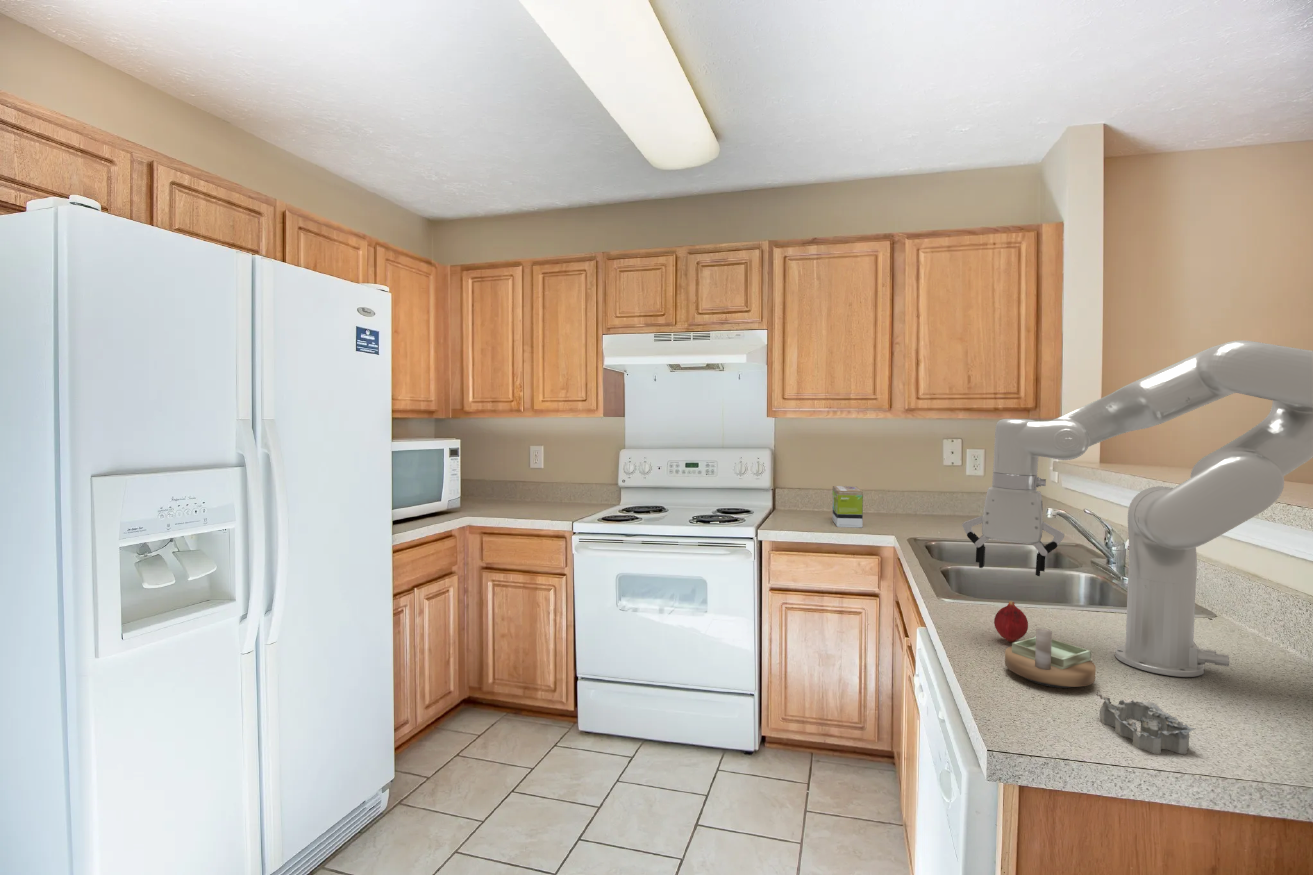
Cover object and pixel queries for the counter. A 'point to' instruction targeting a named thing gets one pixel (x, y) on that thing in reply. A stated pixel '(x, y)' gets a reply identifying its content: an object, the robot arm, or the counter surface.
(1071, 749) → the counter surface
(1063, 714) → the counter surface
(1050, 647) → the disc
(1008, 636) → the onion
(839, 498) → the tea box
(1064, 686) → the turntable base
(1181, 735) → the egg carton
